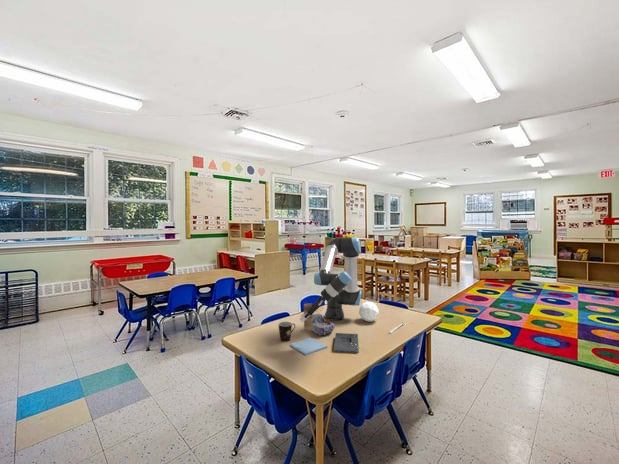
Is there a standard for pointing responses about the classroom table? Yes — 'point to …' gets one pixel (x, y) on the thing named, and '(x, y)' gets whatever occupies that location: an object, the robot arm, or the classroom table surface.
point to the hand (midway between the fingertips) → (302, 319)
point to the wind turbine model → (396, 328)
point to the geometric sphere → (368, 311)
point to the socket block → (346, 343)
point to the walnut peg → (309, 320)
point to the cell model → (321, 325)
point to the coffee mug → (285, 330)
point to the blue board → (308, 346)
